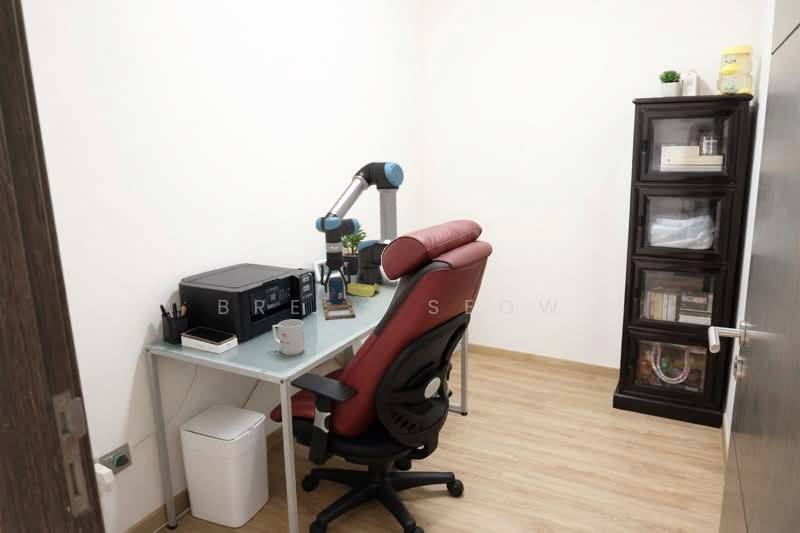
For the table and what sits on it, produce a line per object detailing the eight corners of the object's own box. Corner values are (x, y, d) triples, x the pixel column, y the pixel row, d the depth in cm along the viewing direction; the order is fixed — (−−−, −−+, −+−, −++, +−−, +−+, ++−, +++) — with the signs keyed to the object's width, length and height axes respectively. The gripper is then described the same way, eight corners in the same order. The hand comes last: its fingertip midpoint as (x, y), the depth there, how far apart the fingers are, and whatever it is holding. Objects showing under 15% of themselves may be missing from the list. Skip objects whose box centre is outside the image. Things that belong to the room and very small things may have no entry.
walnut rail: (322, 301, 267) (322, 299, 267) (348, 299, 269) (348, 297, 269) (325, 320, 239) (325, 317, 239) (355, 317, 242) (355, 315, 241)
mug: (309, 348, 206) (307, 320, 204) (297, 357, 198) (295, 328, 196) (281, 345, 210) (279, 317, 208) (268, 353, 202) (266, 325, 200)
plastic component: (380, 286, 283) (375, 282, 274) (378, 300, 282) (372, 297, 273) (345, 281, 289) (338, 278, 279) (342, 295, 287) (335, 292, 278)
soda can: (326, 302, 261) (325, 278, 259) (338, 300, 266) (337, 275, 263) (334, 306, 256) (333, 281, 253) (347, 303, 260) (345, 278, 258)
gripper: (312, 253, 250) (315, 302, 255) (356, 251, 253) (358, 299, 259) (312, 250, 257) (315, 297, 262) (354, 248, 261) (356, 294, 266)
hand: (336, 298), depth 260 cm, fingers closed on soda can, 7 cm apart
